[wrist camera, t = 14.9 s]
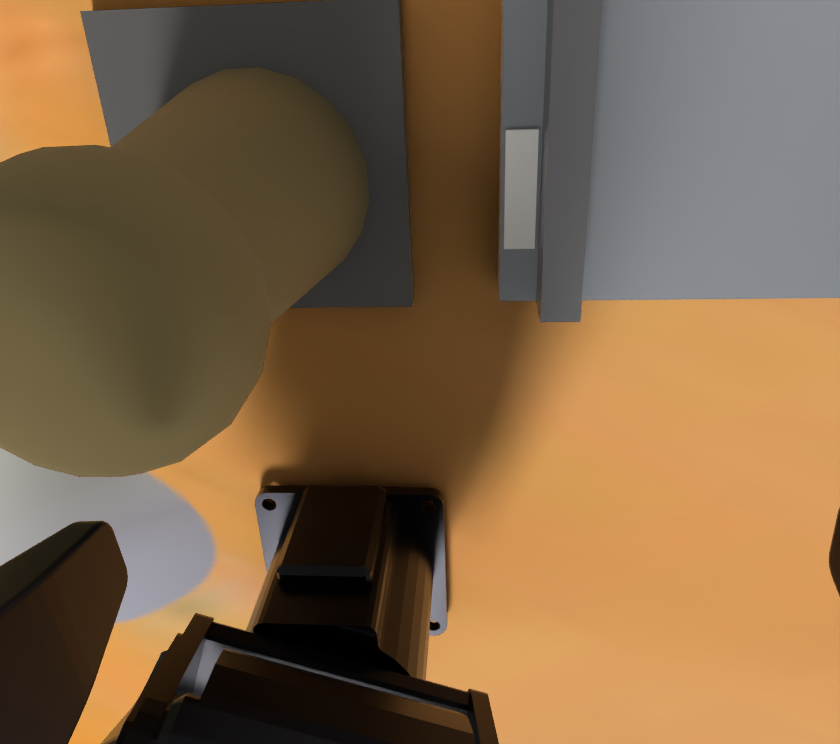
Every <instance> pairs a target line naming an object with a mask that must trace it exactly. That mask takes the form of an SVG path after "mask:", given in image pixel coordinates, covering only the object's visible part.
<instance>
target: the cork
mask: <svg viewBox="0 0 840 744" xmlns="http://www.w3.org/2000/svg"><path fill="white" fill-rule="evenodd" d="M368 204H369V189H368V177H367V165H366V162H365V160H364V157H363V155H362V152H361V150H360V147H359V145H358V142H357V140H356V137H355V135H354V132H353V130H352V129H351V127H350V126H349V125H348V124H347V122H346V121H345V120H344V119H343V117H342V116H341V115H340V114H339V112H338V111H337V110H336V109H335V107H334V106H333V105H332V104H331V102H330V101H329V100H328V99H327V98H325V97H324V96H322V95H321V94H319V93H318V92H316V91H315V90H313V89H312V88H310V87H309V86H308V85H306V84H305V83H303V82H302V81H300V80H299V79H297V78H295V77H291V76H288V75H285V74H281V73H278V72H274V71H271V70H268V69H264V68H261V67H257V68H238V69H223V70H221V71H219V72H217V73H214V74H212V75H210V76H207V77H205V78H203V79H201V80H198V81H196V82H194V83H192V84H191V85H189V86H188V87H187V88H185V89H184V90H183V91H182V92H180V93H179V94H178V95H177V96H175V97H174V98H173V99H171V100H170V101H169V102H168V103H166V104H165V105H164V106H163V107H161V108H160V109H159V110H157V111H156V112H155V113H154V114H152V115H151V116H150V117H149V118H147V119H146V120H145V121H143V122H142V123H141V124H140V125H138V126H137V127H136V128H135V129H133V130H132V131H131V132H129V133H128V134H127V135H126V136H124V137H123V138H122V139H121V140H119V141H118V142H117V143H115V144H114V145H113V146H112V147H104V146H98V145H85V146H62V147H42V148H39V149H35V150H32V151H28V152H25V153H21V154H19V155H16V156H14V157H12V158H10V159H7V160H5V161H3V162H0V448H2V449H4V450H6V451H8V452H10V453H12V454H14V455H16V456H18V457H20V458H22V459H24V460H26V461H28V462H30V463H32V464H33V465H35V466H39V467H43V468H47V469H51V470H55V471H59V472H63V473H67V474H70V475H74V476H78V477H118V476H119V477H122V476H128V475H135V474H141V473H144V472H148V471H151V470H154V469H157V468H161V467H164V466H167V465H171V464H174V463H177V462H180V461H182V460H183V459H185V458H186V457H187V456H189V455H190V454H192V453H193V452H194V451H196V450H197V449H198V448H200V447H201V446H202V445H204V444H205V443H206V442H208V441H209V440H210V439H212V438H213V437H214V436H216V435H217V434H218V433H220V432H221V431H222V430H224V429H225V428H226V427H228V426H229V425H230V424H231V423H232V422H233V420H234V418H235V417H236V415H237V414H238V412H239V410H240V409H241V407H242V405H243V404H244V402H245V401H246V399H247V397H248V396H249V394H250V393H251V391H252V389H253V388H254V386H255V384H256V382H257V380H258V378H259V377H260V375H261V373H262V370H263V365H264V360H265V354H266V349H267V343H268V338H269V333H270V324H271V323H273V322H274V321H275V320H276V319H277V318H278V317H279V316H281V315H282V314H283V313H284V312H285V311H286V310H287V309H289V308H290V307H291V306H292V305H293V304H294V303H295V302H297V301H298V300H299V299H300V298H301V297H302V296H303V295H305V294H306V293H307V292H308V291H309V290H310V289H311V288H313V287H314V286H315V285H316V284H317V283H318V282H319V281H321V280H322V279H323V278H324V277H325V276H326V275H327V274H329V273H330V272H331V271H332V270H333V269H334V268H335V267H337V266H338V265H339V264H340V263H341V262H342V261H343V260H345V258H346V257H347V255H348V253H349V252H350V250H351V249H352V247H353V246H354V244H355V242H356V241H357V239H358V238H359V236H360V234H361V233H362V229H363V225H364V221H365V217H366V212H367V208H368Z"/></svg>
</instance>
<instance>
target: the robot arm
mask: <svg viewBox="0 0 840 744" xmlns="http://www.w3.org/2000/svg"><path fill="white" fill-rule="evenodd" d="M266 499H272V500H274V501H275V502H276V503H269V502H268V501H266ZM425 501H432V502H434V503H435V504H434V505H431V506H429V505H425V504H424V503H423V502H425ZM255 508H256V513H257V519H258V525H259V530H260V536H261V542H262V547H263V553H264V559H265V564H266V570H267V575H266V578H265V581H264V583H263V586H262V589H261V592H260V594H259V597H258V600H257V602H256V605H255V608H254V610H253V613H252V616H251V618H250V621H249V624H248V626H247V629H246V631H245V630H242V629H238V628H234V627H231V626H227V625H223V624H220V623H216V622H214V618H212V617H208V616H205V615H201V614H198V613H195V615H194V616H193V618H192V620H191V622H190V623H189V625H188V627H187V628H186V630H185V632H184V633H183V634H180V633H178V634H177V636H176V637H175V639H174V641H173V642H172V644H171V646H170V647H169V649H168V650H167V651H164V652H162V653H161V655H160V657H159V659H158V661H157V663H156V665H155V667H154V669H153V671H152V673H151V675H150V677H149V679H148V681H147V683H146V685H145V687H144V689H143V691H142V693H141V695H140V696H139V698H138V700H137V701H136V703H135V704H134V706H133V707H132V708H131V709H130V710H129V712H128V713H127V714H126V715H125V716H124V717H123V719H122V720H121V721H120V722H119V723H118V724H117V725H116V727H115V728H114V729H113V730H112V731H111V732H110V734H109V735H108V736H107V737H106V738H105V739H104V740H103V742H102V743H101V744H499V743H498V738H497V734H496V729H495V725H494V720H493V716H492V711H491V707H490V702H489V698H488V694H487V693H483V692H480V691H476V690H472V689H469V690H468V691H467V692H466V691H462V690H459V689H455V688H452V687H448V686H444V685H441V684H437V683H433V682H430V681H426V667H427V654H428V641H429V635H433V636H434V635H440V634H442V633H444V631H445V630H446V628H447V590H446V554H445V518H444V498H443V495H442V494H441V493H440V491H438V490H436V489H434V488H415V487H379V486H314V485H312V486H266V487H264V488H262V489H261V490H260V491H259V493H258V495H257V497H256V499H255ZM829 567H830V572H831V575H832V578H833V581H834V583H835V586H836V588H837V591H838V593H839V596H840V508H839V511H838V515H837V519H836V524H835V529H834V533H833V538H832V543H831V547H830V552H829ZM127 579H128V575H127V569H126V565H125V562H124V560H123V557H122V554H121V551H120V548H119V546H118V543H117V540H116V537H115V534H114V531H113V529H112V527H111V526H110V525H109V524H108V523H107V522H104V521H81V522H75V523H72V524H70V525H68V526H67V527H65V528H63V529H62V530H60V531H58V532H57V533H55V534H53V535H52V536H50V537H48V538H47V539H45V540H43V541H42V542H40V543H38V544H37V545H35V546H33V547H32V548H30V549H28V550H27V551H25V552H23V553H21V554H20V555H18V556H16V557H15V558H13V559H12V560H10V561H8V562H6V563H5V564H3V565H1V566H0V744H68V743H69V740H70V738H71V736H72V734H73V732H74V729H75V727H76V725H77V723H78V721H79V718H80V716H81V714H82V711H83V709H84V707H85V704H86V702H87V700H88V697H89V695H90V692H91V689H92V687H93V684H94V681H95V679H96V676H97V673H98V670H99V667H100V664H101V661H102V658H103V655H104V652H105V649H106V646H107V643H108V640H109V638H110V635H111V632H112V629H113V626H114V623H115V620H116V617H117V614H118V611H119V608H120V605H121V602H122V599H123V596H124V593H125V590H126V587H127ZM430 621H437V622H435V623H433V622H430Z"/></svg>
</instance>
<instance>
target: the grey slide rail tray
mask: <svg viewBox="0 0 840 744" xmlns="http://www.w3.org/2000/svg"><path fill="white" fill-rule="evenodd" d="M498 290H499V301H536V303H537V308H538V313H539V317H540V322H580V318H581V304H582V300H667V299H775V298H840V0H501V76H500V157H499V237H498Z"/></svg>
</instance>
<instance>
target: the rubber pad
mask: <svg viewBox="0 0 840 744" xmlns="http://www.w3.org/2000/svg"><path fill="white" fill-rule="evenodd" d="M80 12H81V17H82V21H83V25H84V30H85V34H86V39H87V43H88V48H89V52H90V56H91V61H92V65H93V70H94V74H95V79H96V83H97V87H98V92H99V96H100V101H101V105H102V110H103V114H104V118H105V123H106V127H107V132H108V136H109V141H110V145H111V147H112V146H113V145H114V144H115V143H117V142H118V141H119V140H121V139H122V138H123V137H124V136H126V135H127V134H128V133H129V132H131V131H132V130H133V129H135V128H136V127H137V126H138V125H140V124H141V123H142V122H143V121H145V120H146V119H147V118H149V117H150V116H151V115H152V114H154V113H155V112H156V111H157V110H159V109H160V108H161V107H163V106H164V105H165V104H166V103H168V102H169V101H170V100H171V99H173V98H174V97H175V96H177V95H178V94H179V93H180V92H182V91H183V90H184V89H185V88H187V87H188V86H189V85H191V84H192V83H194V82H196V81H198V80H201V79H203V78H205V77H207V76H210V75H212V74H214V73H217V72H219V71H221V70H223V69H238V68H257V67H261V68H264V69H268V70H271V71H274V72H278V73H281V74H285V75H288V76H291V77H295V78H297V79H299V80H300V81H302V82H303V83H305V84H306V85H308V86H309V87H310V88H312V89H313V90H315V91H316V92H318V93H319V94H321V95H322V96H324V97H325V98H327V99H328V100H329V101H330V102H331V104H332V105H333V106H334V107H335V109H336V110H337V111H338V112H339V114H340V115H341V116H342V117H343V119H344V120H345V121H346V122H347V124H348V125H349V126H350V127H351V129H352V130H353V132H354V135H355V137H356V140H357V142H358V145H359V147H360V150H361V152H362V155H363V157H364V160H365V162H366V165H367V177H368V189H369V204H368V208H367V212H366V217H365V221H364V225H363V229H362V233H361V234H360V236H359V238H358V239H357V241H356V242H355V244H354V246H353V247H352V249H351V250H350V252H349V253H348V255H347V257H346V258H345V260H343V261H342V262H341V263H340V264H339V265H338V266H337V267H335V268H334V269H333V270H332V271H331V272H330V273H329V274H327V275H326V276H325V277H324V278H323V279H322V280H321V281H319V282H318V283H317V284H316V285H315V286H314V287H313V288H311V289H310V290H309V291H308V292H307V293H306V294H305V295H303V296H302V297H301V298H300V299H299V300H298V301H297V302H295V303H294V304H293V305H292V306H291V307H290V308H315V307H412V305H413V301H414V292H413V270H412V247H411V225H410V202H409V180H408V157H407V135H406V112H405V89H404V67H403V44H402V22H401V0H326V1H303V2H280V3H257V4H235V5H212V6H189V7H167V8H144V9H121V10H98V11H80Z"/></svg>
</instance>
